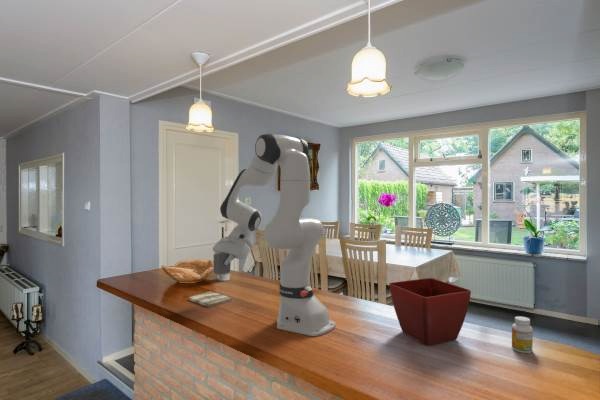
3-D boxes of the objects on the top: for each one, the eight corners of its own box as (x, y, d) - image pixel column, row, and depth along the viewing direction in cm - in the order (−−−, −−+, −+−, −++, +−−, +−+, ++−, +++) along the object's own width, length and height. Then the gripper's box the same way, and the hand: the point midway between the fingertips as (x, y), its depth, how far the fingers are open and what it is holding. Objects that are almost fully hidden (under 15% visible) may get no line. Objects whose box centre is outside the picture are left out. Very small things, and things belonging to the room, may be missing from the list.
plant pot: (387, 329, 125) (387, 282, 125) (431, 322, 132) (431, 277, 131) (424, 352, 107) (424, 297, 107) (472, 342, 114) (472, 290, 113)
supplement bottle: (513, 344, 113) (513, 314, 112) (533, 349, 109) (533, 317, 109) (510, 350, 108) (510, 318, 108) (531, 355, 105) (531, 323, 105)
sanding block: (230, 273, 158) (230, 253, 158) (219, 276, 153) (219, 255, 153) (224, 271, 161) (224, 252, 160) (213, 274, 156) (213, 254, 156)
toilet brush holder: (223, 283, 189) (222, 227, 188) (209, 280, 195) (209, 226, 195) (238, 279, 197) (237, 225, 196) (224, 276, 204) (224, 224, 203)
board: (231, 300, 159) (231, 297, 159) (209, 307, 150) (209, 304, 150) (210, 293, 169) (210, 291, 169) (188, 299, 160) (188, 297, 160)
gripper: (220, 232, 168) (202, 255, 161) (248, 236, 155) (231, 262, 148) (227, 240, 172) (211, 263, 165) (256, 245, 159) (239, 271, 152)
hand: (220, 263), depth 156 cm, fingers closed on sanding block, 4 cm apart
